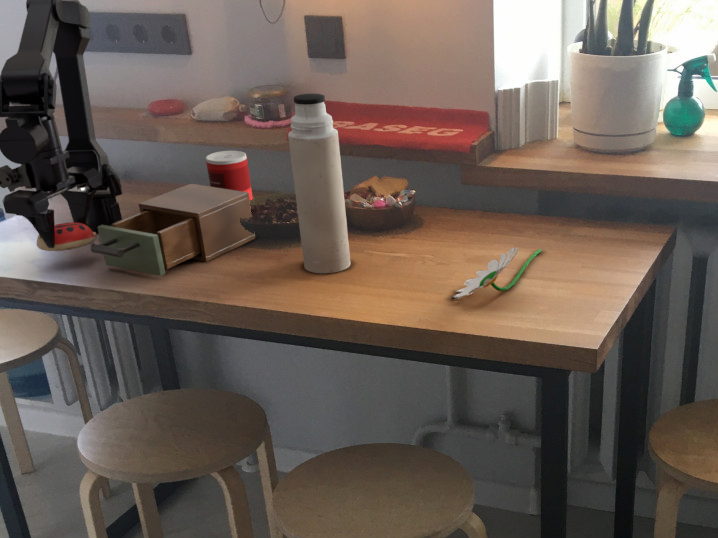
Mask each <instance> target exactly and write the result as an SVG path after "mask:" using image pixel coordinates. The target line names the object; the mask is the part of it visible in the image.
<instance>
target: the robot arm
mask: <svg viewBox="0 0 718 538" xmlns="http://www.w3.org/2000/svg"><path fill="white" fill-rule="evenodd" d="M25 8H26V12H27V13H26V15H25V21H24V24H23V29H22V33H21V37H20V41H19V45H18V49H17V51H16V53H15V54H13V55H12V56H10V57H9V58H8V59H6V60H5V62H4V65H3V67H2V69H1V71H0V118H4V122H5V125H6V127H5V128H4V129H2V130H1V132H0V153H1V154H2V155H3V156H4V157H5V158H6V159H7V160H8V161H10V162H11V163H13V164H17V165H19V166H16V167H15V168H11V167H10V166H9V165H8V164H5V165H3V166H0V188H1V189H5V188H7V189H8V191H9V192H10V193H8V194H5V195H4V197H3V199H2V200H1V202H2V205H3V209H4V212H5V214H8V215H9V214H10V215H16V216H19V217H22V218H24V219H26V220H27V221H28V222H29V223H30V224H31V226H32V227H33V228H34V229H35V231H36V232H37V233H38V235H40V236H41V238H42V239H43V241H44V242H45V244H46V245H47V247H48V248H54V247H55V227H54V225H55V210H54V209H52V208H49V206H50V202H49V200H51V199H52V198H54V197H57V196H59V195H61V196H62V197H63V199H65V201H66V202H67V206H68V208H69V212H70V215H71V218H72V223H82V224H84V225H86V226H88V227H89V228H90V229H91V230H92V232H95V233H99V232H98V226H100V225H107V226H112V224H113V223H116V222H118V221H121V220H123V217H122V213H121V208H120V203H119V202H118V201H117V197H118V196H122V195H123V190H122V183H121V179H120V178H119V176H118V175H117V172H116V171H115V170H114V168H113V167H112V165H111V164H110V162H109V156H108V154H107V153H106V151H105V150H104V149H103V148H102V146H101V145H100V144H99V142H98V140H97V138H96V132H95V126H94V119H93V111H92V107H91V106H92V105H91V100H90V99H91V98H90V94H89V93H90V92H89V86H88V80H87V79H88V78H87V73H86V72H87V71H86V67H85V60H84V54H85V52H86V49H87V47H88V45H89V43H90V41H91V35H90V28H91V25H92V22H91V15H90V11H89V9H88V7H87V6H85V5H84V4H82V3H81V2H80V0H26V2H25ZM53 54H54V58H55V64H56V70H57V76H58V82H59V88H60V94H61V101H62V107H63V114H64V120H65V126H66V132H67V138H68V139H67V140H68V142H67V144H66V147H65V149H64V150H63V146H62V143H61V139H60V135H59V131H58V130H59V129H58V127H57V123H56V119H55V118H56V117H55V115H54V113H55V112H56V103H57V89H58V87H57V82H56V81H55V79H54V77H53V74H52V73H51V70H50V65H51V61H52V58H53ZM10 104H11V105H10ZM23 187H24V188H25V189H19V188H23ZM16 189H18V190H16ZM26 189H27V190H26ZM28 189H29V190H28ZM32 189H35V190H32Z"/></svg>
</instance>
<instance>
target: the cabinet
mask: <svg viewBox="0 0 718 538" xmlns="http://www.w3.org/2000/svg"><path fill="white" fill-rule="evenodd" d="M138 208H139V213H141V212H144V211H146V210H154V211H160V212H166V213H172V214H178V215H184V216H190V217H196V224H197V229H198V235H199V240H200V246H201V252H202V253H201V254H199V255H196V256H194V257H192V258H190V259H189V260H196V261H200V262H206V263H207V262H209V261H211V260H213V259H215V258H217V257H220V256H222V255H224V254H226V253H228V252H230V251H232V250H234V249H236V248H239V247H241V246H243V245H245V244H247V243H248V242H249V243H250V242H251V241H253V240H255V239H256V234H255V232H254V234H253V233H251V232H249V231H248V230H245V228H244V227H243V226H242V225H241V223H240V218H243V217H245V218H250V217H252V218H253V214H252V212H251V206H250V199H249V193H248V192H242V191H236V190H229V189H223V188H216V187H210V185H202V184H196V183H189V184H186V185H184V186H183V185H182V186H181V187H178V188H176V189H173V190H170V191H167V192H165V193H163V194H160V195H157V196H155V197H152V198H149V199H147V200H144V201H141V202H138Z"/></svg>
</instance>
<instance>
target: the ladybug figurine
mask: <svg viewBox="0 0 718 538" xmlns="http://www.w3.org/2000/svg"><path fill="white" fill-rule="evenodd" d="M54 227H55V247H54V248H48V247H47V245H46V244H45V242H44V241H43V239H42V238H41V236H40V235H39V234H38V235H37V238H36V247H37V248H38V249H39V250H42V251H46V252H62V251H69V250H75V249H79V248H83V247H86V246H88V245H92V244H93V243H94V242H95V241H96V237H97V232H92V230H91V229H90V228H89V227H88V226H86V225H84V224H82V223H74V222H63V223H58V224H54Z"/></svg>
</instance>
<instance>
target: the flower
mask: <svg viewBox="0 0 718 538" xmlns="http://www.w3.org/2000/svg"><path fill="white" fill-rule="evenodd" d="M518 250H519V247H518V246H517V247H511V248H510V249H509V250H508V253H506V252H502V253H501V254H500V256H499V260H498V259H495V258H494V259H491V260H490V261H489V262H488V263H487V264H486V267H487V269H481V270H480V269H479V270H477V271H476V272H475V274H476V276H477V277H474V278H470V279H467V280H465V282H464V283H463V285H464V286H466V287H463V288H461V289H458V290H455V293H456V292H457V293H458V294H455V295H452V301H455V300H460V299H463V298H465V297H467V296H470V295H471V294H474V293H476V292H477V291H479V290H480V289H482V288H483V289H484V288H488V287H489V286H491V287H492V288H493V289H495V290H496V291H499V292H505V291H509V290H510V289H511V288H513V287H514V285H516V283H517V282H518V280H519V278H520V277H521V275H522V274H523V272H525V270H526V268H527V267H528V265H529V264H530V263H531V261H532V260H533V259H534V258H535V257H537V255H539V254H540V253H542V248H539V249H537V250H536V251H535V252H534V253H533V254H531V255H530V256H529V258H527V260H526V261H525V262H524V263H523V265H522V267H521V268H520V269H519V271H518V273H517V274H516V275H515V276H514V279H512V280H511V282H510V283H509V284H508V285H506V286H504V287H500V286H498V285H497V284H495V281H497V279H498V277H499V275H500V274H501V273H502V272H503V271H504V270H505V269H506V268H507V267H508V266H509V265H510V263H511V261H512V260H513V259H514V258H515V257H516V255H517V253H518Z"/></svg>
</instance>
